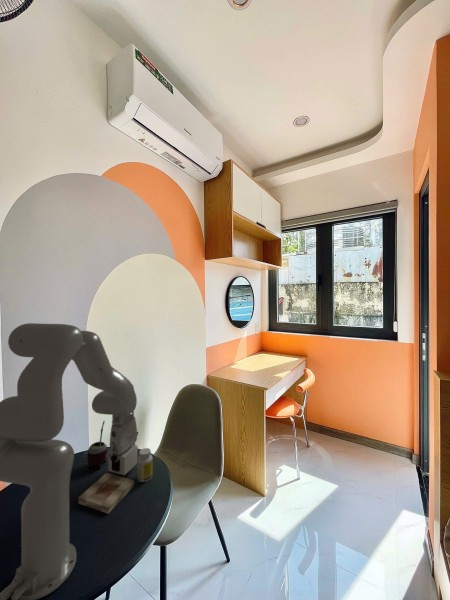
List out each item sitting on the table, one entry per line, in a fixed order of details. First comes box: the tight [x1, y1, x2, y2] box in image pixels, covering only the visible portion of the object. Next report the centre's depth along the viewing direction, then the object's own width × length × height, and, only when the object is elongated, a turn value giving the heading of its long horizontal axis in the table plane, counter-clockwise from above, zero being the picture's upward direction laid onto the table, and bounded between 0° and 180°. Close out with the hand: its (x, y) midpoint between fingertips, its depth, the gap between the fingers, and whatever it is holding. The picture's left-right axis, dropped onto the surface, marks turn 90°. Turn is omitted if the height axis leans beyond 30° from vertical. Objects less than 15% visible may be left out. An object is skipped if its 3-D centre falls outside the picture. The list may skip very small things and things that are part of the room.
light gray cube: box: [107, 444, 138, 476], centre depth 96 cm, size 7×7×7 cm
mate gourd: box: [86, 420, 108, 470], centre depth 101 cm, size 8×8×15 cm
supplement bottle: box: [136, 447, 154, 483], centre depth 94 cm, size 5×5×10 cm
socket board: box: [77, 472, 135, 514], centre depth 86 cm, size 12×12×2 cm
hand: (123, 463), depth 96 cm, fingers closed on light gray cube, 7 cm apart
